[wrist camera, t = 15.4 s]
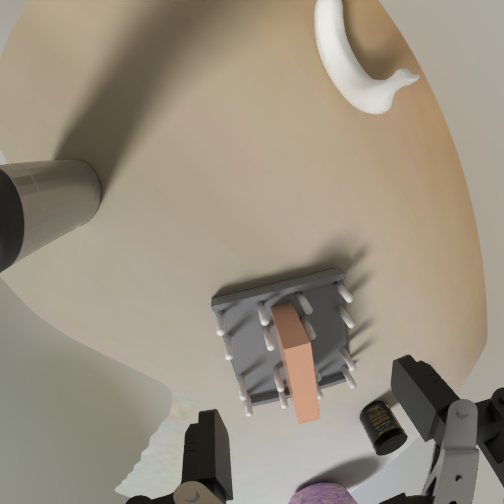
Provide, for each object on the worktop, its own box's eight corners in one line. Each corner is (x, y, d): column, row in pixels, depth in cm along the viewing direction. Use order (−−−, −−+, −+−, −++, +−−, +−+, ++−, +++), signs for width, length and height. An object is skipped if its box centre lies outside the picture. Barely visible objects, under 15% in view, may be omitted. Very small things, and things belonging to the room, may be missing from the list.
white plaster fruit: (325, 1, 29) (366, -51, 15) (368, 118, 35) (435, 104, 21) (293, 3, 29) (325, -55, 15) (337, 124, 35) (397, 108, 21)
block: (303, 374, 45) (320, 418, 35) (285, 379, 45) (299, 424, 35) (291, 302, 40) (310, 342, 31) (270, 307, 40) (284, 349, 31)
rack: (244, 397, 46) (247, 422, 41) (211, 298, 40) (210, 319, 34) (345, 371, 47) (357, 393, 41) (337, 267, 41) (354, 283, 35)
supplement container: (352, 415, 51) (370, 452, 41) (378, 395, 50) (399, 430, 40) (367, 424, 53) (385, 458, 43) (391, 405, 52) (412, 438, 42)
